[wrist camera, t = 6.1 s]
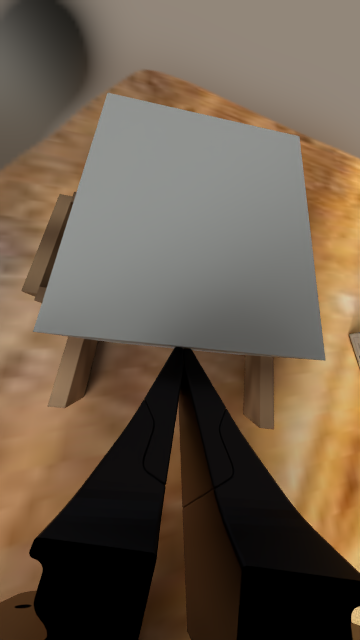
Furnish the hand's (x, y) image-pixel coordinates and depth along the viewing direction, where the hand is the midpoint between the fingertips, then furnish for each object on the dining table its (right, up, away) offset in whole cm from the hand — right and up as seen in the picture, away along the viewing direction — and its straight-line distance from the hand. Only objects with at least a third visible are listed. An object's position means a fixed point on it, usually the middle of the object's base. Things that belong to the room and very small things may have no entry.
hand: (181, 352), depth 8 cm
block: (0, +6, +8) cm, 10 cm away
